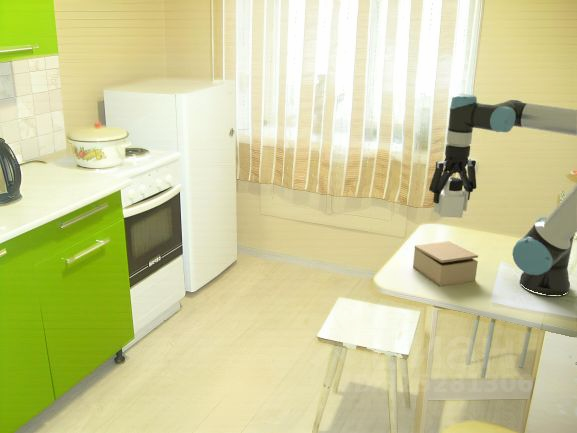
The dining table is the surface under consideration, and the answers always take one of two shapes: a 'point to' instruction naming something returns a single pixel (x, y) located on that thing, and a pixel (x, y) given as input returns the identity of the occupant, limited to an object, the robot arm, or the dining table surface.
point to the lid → (446, 251)
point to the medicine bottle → (452, 198)
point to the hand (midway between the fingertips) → (450, 210)
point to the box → (445, 269)
